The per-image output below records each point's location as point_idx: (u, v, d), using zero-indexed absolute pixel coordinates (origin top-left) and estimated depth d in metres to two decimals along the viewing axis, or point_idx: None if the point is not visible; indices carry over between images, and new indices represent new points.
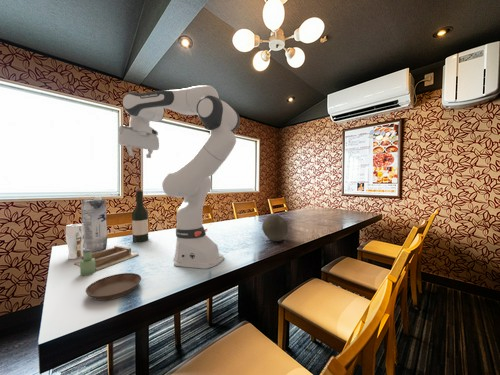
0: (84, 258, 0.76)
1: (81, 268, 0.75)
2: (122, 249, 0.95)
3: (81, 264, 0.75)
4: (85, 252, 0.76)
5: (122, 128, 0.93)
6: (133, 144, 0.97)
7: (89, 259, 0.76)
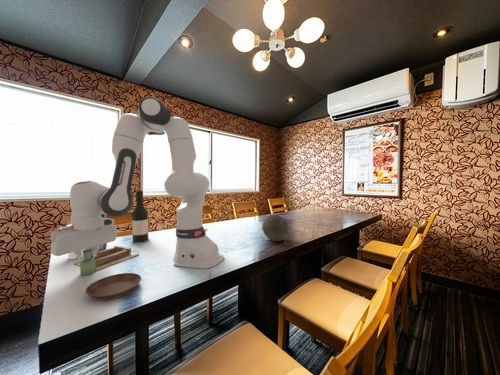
0: None
1: (81, 268, 0.75)
2: (122, 249, 0.95)
3: (81, 264, 0.75)
4: (85, 252, 0.76)
5: (55, 233, 0.68)
6: (74, 250, 0.71)
7: (89, 259, 0.76)
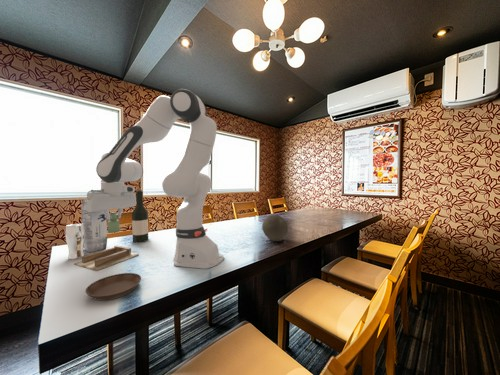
0: None
1: (108, 226, 0.91)
2: (122, 249, 0.95)
3: (109, 223, 0.91)
4: (112, 213, 0.91)
5: (91, 193, 0.84)
6: (104, 208, 0.87)
7: (115, 219, 0.92)
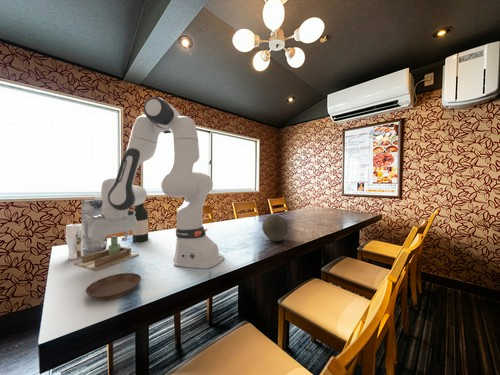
0: (112, 243, 0.92)
1: (109, 251, 0.91)
2: (122, 249, 0.95)
3: (109, 248, 0.91)
4: (112, 238, 0.92)
5: (91, 220, 0.84)
6: (105, 234, 0.88)
7: (116, 244, 0.93)
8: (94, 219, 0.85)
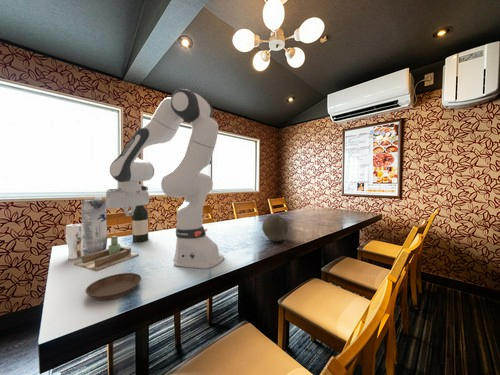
0: (112, 243, 0.92)
1: (109, 251, 0.91)
2: (122, 249, 0.95)
3: (109, 248, 0.91)
4: (113, 238, 0.92)
5: (109, 192, 0.90)
6: (121, 206, 0.94)
7: (116, 244, 0.93)
8: (112, 191, 0.91)
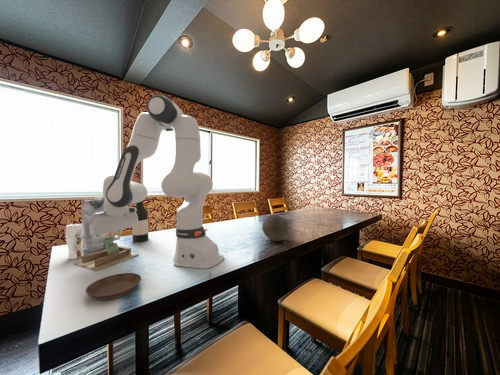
0: (107, 244, 0.90)
1: (107, 252, 0.90)
2: (122, 249, 0.95)
3: (106, 249, 0.90)
4: (107, 239, 0.90)
5: (93, 217, 0.85)
6: (106, 231, 0.88)
7: (112, 244, 0.91)
8: (96, 216, 0.86)
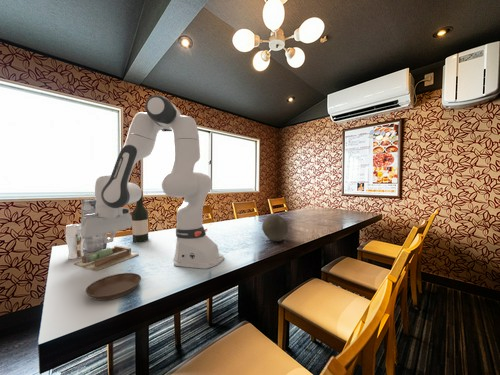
0: None
1: None
2: (122, 249, 0.95)
3: None
4: None
5: (84, 219, 0.82)
6: (98, 233, 0.85)
7: (98, 257, 0.86)
8: (87, 217, 0.83)
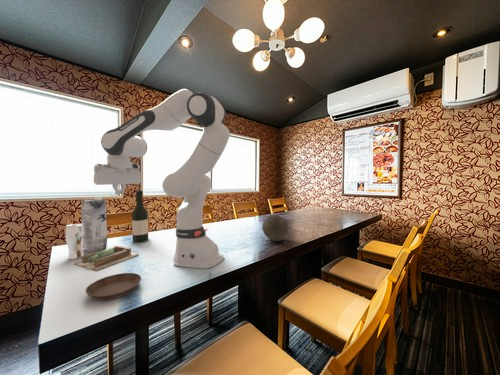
0: None
1: None
2: (122, 249, 0.95)
3: None
4: None
5: (97, 167, 0.86)
6: (110, 182, 0.89)
7: None
8: (100, 166, 0.87)
